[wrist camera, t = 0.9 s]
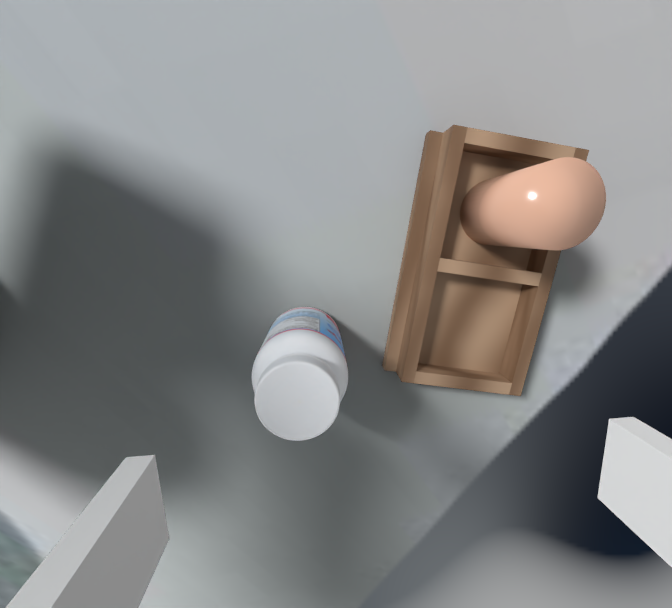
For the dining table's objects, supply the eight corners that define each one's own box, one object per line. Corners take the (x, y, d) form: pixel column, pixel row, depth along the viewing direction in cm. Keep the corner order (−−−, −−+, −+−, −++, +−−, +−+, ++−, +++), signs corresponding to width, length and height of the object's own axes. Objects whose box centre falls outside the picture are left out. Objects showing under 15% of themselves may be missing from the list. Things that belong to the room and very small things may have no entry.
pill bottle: (342, 369, 30) (357, 449, 19) (272, 375, 30) (246, 459, 19) (338, 301, 29) (351, 345, 18) (264, 306, 29) (232, 354, 18)
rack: (382, 365, 30) (389, 380, 27) (425, 134, 27) (439, 122, 24) (511, 381, 31) (532, 397, 28) (571, 160, 28) (601, 152, 25)
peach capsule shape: (453, 239, 27) (508, 243, 20) (467, 173, 26) (531, 149, 19) (513, 249, 28) (590, 256, 20) (529, 184, 27) (617, 165, 19)
